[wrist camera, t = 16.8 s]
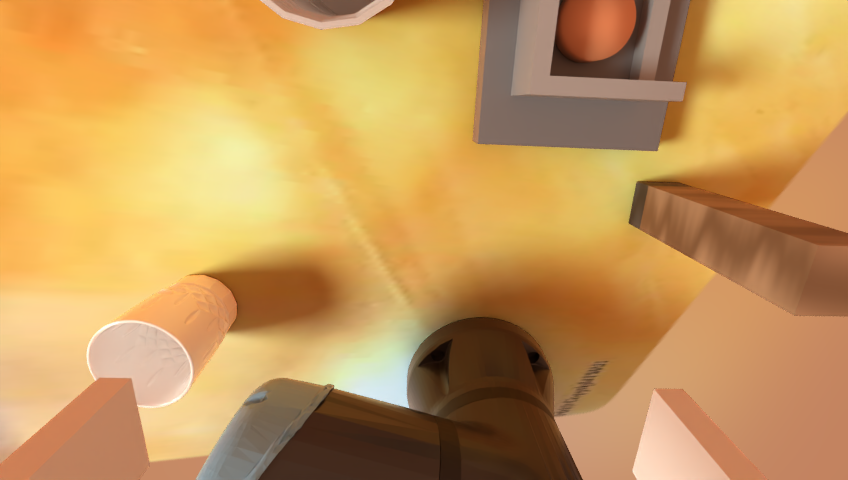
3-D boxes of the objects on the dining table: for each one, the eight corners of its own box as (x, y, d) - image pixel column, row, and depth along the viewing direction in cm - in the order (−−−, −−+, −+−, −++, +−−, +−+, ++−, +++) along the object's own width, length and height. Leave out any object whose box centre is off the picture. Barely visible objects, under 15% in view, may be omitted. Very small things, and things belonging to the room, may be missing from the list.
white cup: (183, 253, 39) (110, 301, 30) (258, 295, 41) (211, 354, 31) (149, 314, 41) (70, 377, 32) (221, 352, 43) (167, 424, 33)
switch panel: (638, 147, 37) (701, 159, 29) (472, 140, 36) (489, 151, 28) (687, -94, 31) (782, -162, 23) (492, -106, 31) (519, -180, 23)
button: (615, 64, 32) (628, 62, 30) (548, 61, 32) (557, 58, 30) (628, -13, 30) (643, -21, 28) (558, -17, 30) (568, -25, 28)
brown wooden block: (669, 224, 39) (865, 316, 22) (628, 223, 39) (794, 315, 22) (679, 182, 38) (894, 247, 21) (636, 181, 38) (818, 245, 21)
